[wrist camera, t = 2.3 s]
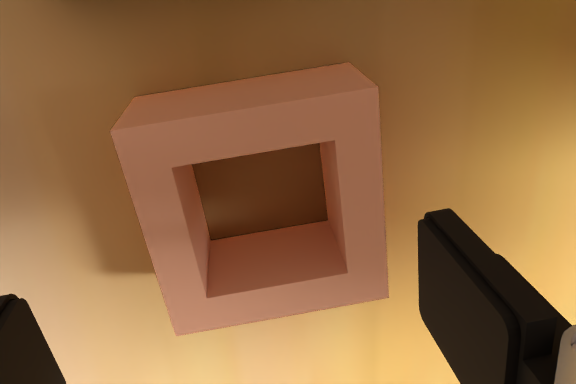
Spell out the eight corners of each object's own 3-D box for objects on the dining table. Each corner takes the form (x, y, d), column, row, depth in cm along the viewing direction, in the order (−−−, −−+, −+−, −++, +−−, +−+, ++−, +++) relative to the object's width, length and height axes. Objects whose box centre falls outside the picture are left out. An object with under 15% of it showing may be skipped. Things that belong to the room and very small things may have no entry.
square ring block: (349, 62, 16) (377, 87, 13) (363, 242, 19) (388, 297, 16) (134, 96, 16) (109, 130, 12) (185, 273, 19) (176, 336, 16)
